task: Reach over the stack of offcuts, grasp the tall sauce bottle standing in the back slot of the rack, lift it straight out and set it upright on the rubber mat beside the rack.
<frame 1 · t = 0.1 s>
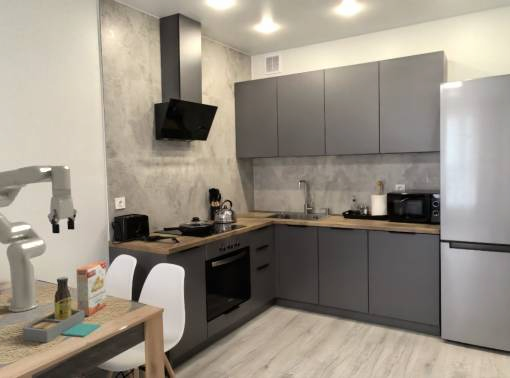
hand: (63, 231, 176), 37 cm above the table, tool pointing down, fingers open, 9 cm apart
mat: (81, 330, 157), on the table
sauce bottle: (63, 325, 163), on the table
rack: (55, 329, 158), on the table
offcut upper: (45, 330, 153), point 2 cm above the table, touching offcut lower
cracker box: (93, 310, 179), on the table
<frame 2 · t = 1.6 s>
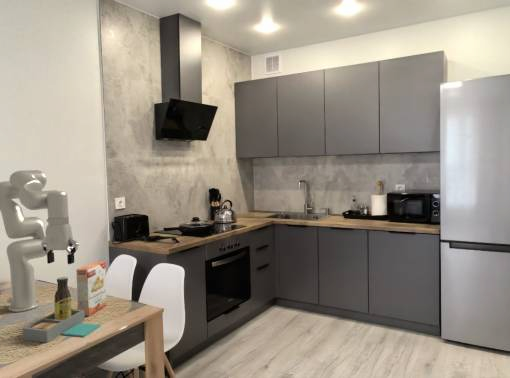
hand: (61, 263, 161), 26 cm above the table, tool pointing down, fingers open, 9 cm apart
nothing on the table moved.
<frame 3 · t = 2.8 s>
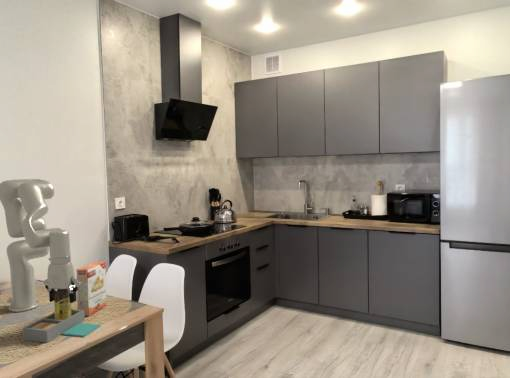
hand: (63, 301, 162), 10 cm above the table, tool pointing down, fingers open, 9 cm apart
nothing on the table moved.
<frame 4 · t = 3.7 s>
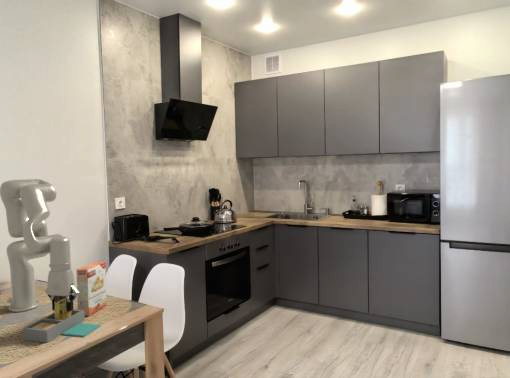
hand: (62, 309, 162), 7 cm above the table, tool pointing down, fingers closed on sauce bottle, 6 cm apart
sauce bottle: (63, 325, 163), on the table, touching gripper
everything else where it was.
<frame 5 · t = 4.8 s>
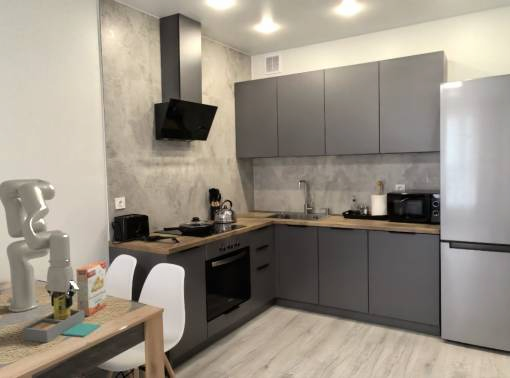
hand: (62, 305, 162), 8 cm above the table, tool pointing down, fingers closed on sauce bottle, 6 cm apart
sauce bottle: (62, 321, 163), point 1 cm above the table, touching gripper
everything else where it was.
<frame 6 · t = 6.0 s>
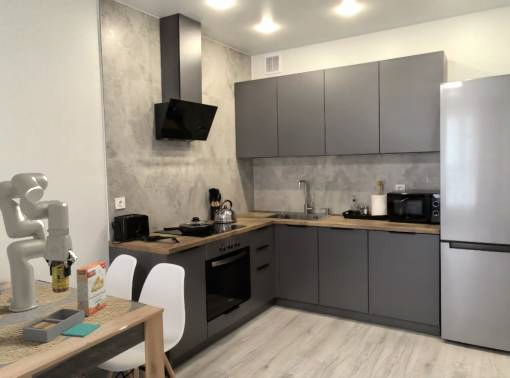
hand: (60, 275, 161), 21 cm above the table, tool pointing down, fingers closed on sauce bottle, 6 cm apart
sauce bottle: (61, 291, 162), point 14 cm above the table, touching gripper
everything else where it was.
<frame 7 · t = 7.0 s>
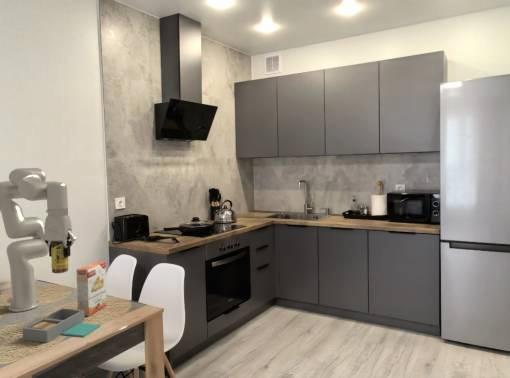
hand: (59, 255, 161), 29 cm above the table, tool pointing down, fingers closed on sauce bottle, 6 cm apart
sauce bottle: (60, 272, 161), point 22 cm above the table, touching gripper
offcut upper: (44, 331, 153), point 2 cm above the table
when the fingers open (9 cm above the table, at t = 12.4 s): sauce bottle drops 1 cm, resting on mat.
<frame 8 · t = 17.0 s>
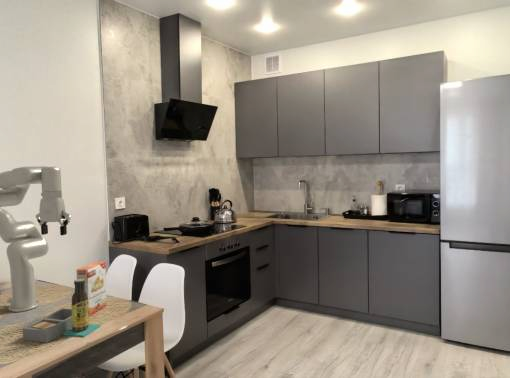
hand: (54, 234, 170), 36 cm above the table, tool pointing down, fingers open, 9 cm apart
sauce bottle: (80, 329, 157), resting on mat
everything else where it was.
at the end: sauce bottle inside the target area on the mat (0.4 cm from its centre), point 0.4 cm above the mat's base; sauce bottle tilted 0°; the gripper is holding nothing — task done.
